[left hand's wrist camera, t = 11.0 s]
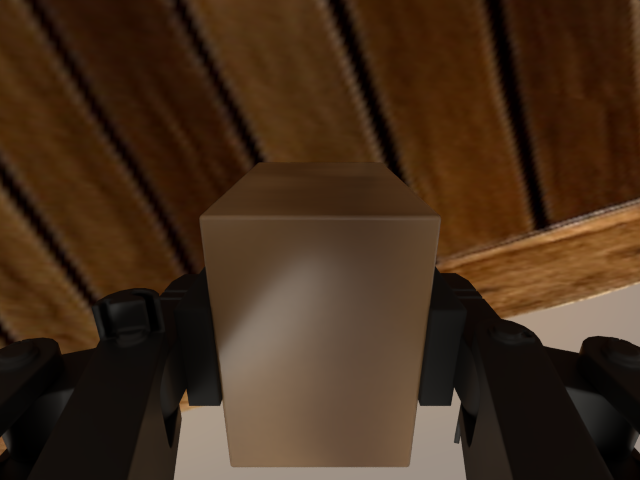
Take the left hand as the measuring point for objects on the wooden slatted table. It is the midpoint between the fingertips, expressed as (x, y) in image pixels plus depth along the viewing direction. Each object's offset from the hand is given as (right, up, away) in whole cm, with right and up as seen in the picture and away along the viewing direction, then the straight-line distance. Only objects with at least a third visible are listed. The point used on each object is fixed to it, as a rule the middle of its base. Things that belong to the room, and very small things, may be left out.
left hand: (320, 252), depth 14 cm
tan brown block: (0, 0, +1) cm, 1 cm away
